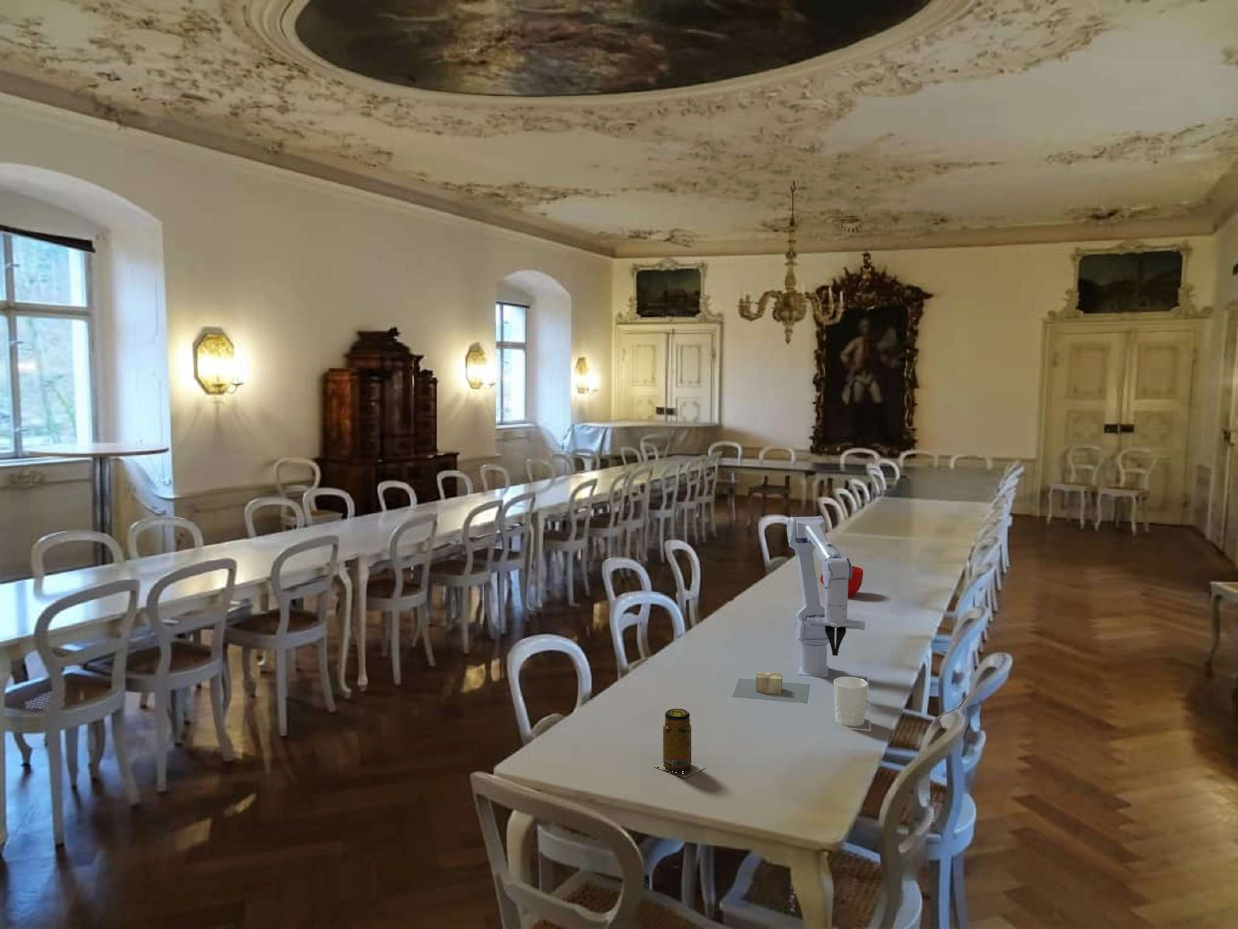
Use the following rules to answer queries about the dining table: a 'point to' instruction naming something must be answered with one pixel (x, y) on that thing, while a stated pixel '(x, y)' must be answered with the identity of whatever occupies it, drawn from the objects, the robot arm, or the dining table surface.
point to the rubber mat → (788, 693)
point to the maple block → (769, 682)
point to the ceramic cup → (853, 581)
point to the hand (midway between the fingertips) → (835, 654)
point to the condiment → (678, 744)
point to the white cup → (850, 700)
